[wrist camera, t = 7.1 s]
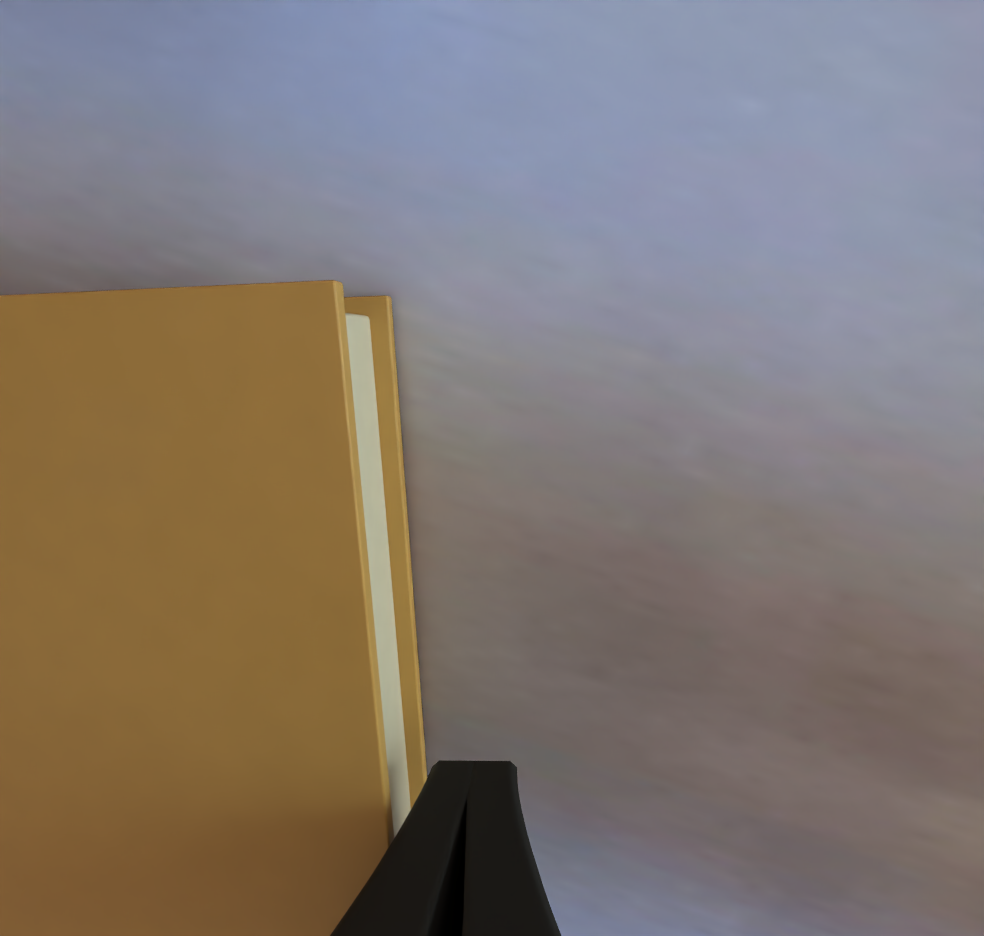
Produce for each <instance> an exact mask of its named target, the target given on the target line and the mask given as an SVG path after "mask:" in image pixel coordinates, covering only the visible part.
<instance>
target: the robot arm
mask: <svg viewBox="0 0 984 936" xmlns="http://www.w3.org/2000/svg"><path fill="white" fill-rule="evenodd" d="M330 936H561V934H560V931H559V929H558V926H557V923H556V921H555V918H554V915H553V913H552V910H551V907H550V904H549V902H548V899H547V896H546V893H545V890H544V887H543V884H542V881H541V878H540V875H539V871H538V868H537V865H536V862H535V859H534V855H533V852H532V849H531V846H530V842H529V838H528V835H527V831H526V827H525V822H524V818H523V814H522V810H521V804H520V799H519V793H518V785H517V767H516V766H515V765H514V764H512V763H511V762H510V761H438V762H437V763H436V764H435V765H434V766H433V767H432V769H431V772H430V774H429V776H428V778H427V780H426V782H425V784H424V786H423V788H422V790H421V792H420V794H419V796H418V797H417V799H416V801H415V803H414V805H413V807H412V809H411V810H410V812H409V814H408V816H407V817H406V819H405V821H404V823H403V824H402V826H401V828H400V830H399V831H398V833H397V835H396V836H395V838H394V839H393V841H392V843H391V844H390V846H389V848H388V849H387V851H386V852H385V854H384V856H383V857H382V859H381V861H380V862H379V864H378V865H377V867H376V869H375V870H374V872H373V873H372V875H371V876H370V878H369V880H368V881H367V883H366V884H365V885H364V887H363V888H362V890H361V891H360V893H359V894H358V896H357V897H356V899H355V900H354V901H353V903H352V904H351V906H350V907H349V909H348V910H347V912H346V913H345V915H344V916H343V917H342V919H341V920H340V922H339V923H338V925H337V926H336V928H335V929H334V930H333V932H332V933H331V935H330Z"/></svg>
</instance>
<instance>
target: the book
mask: <svg viewBox="0 0 984 936" xmlns="http://www.w3.org/2000/svg"><path fill="white" fill-rule="evenodd" d="M426 780H427V769H426V755H425V742H424V729H423V715H422V702H421V689H420V675H419V662H418V649H417V635H416V622H415V609H414V595H413V582H412V569H411V555H410V542H409V529H408V515H407V502H406V489H405V475H404V462H403V449H402V435H401V422H400V409H399V395H398V382H397V369H396V355H395V342H394V329H393V315H392V302H391V297H389V296H363V297H344V294H343V285H342V283H341V282H338V281H335V280H324V281H302V282H280V283H258V284H237V285H215V286H193V287H172V288H150V289H128V290H106V291H85V292H63V293H41V294H20V295H0V936H330V935H331V933H332V932H333V930H334V929H335V928H336V926H337V925H338V923H339V922H340V920H341V919H342V917H343V916H344V915H345V913H346V912H347V910H348V909H349V907H350V906H351V904H352V903H353V901H354V900H355V899H356V897H357V896H358V894H359V893H360V891H361V890H362V888H363V887H364V885H365V884H366V883H367V881H368V880H369V878H370V876H371V875H372V873H373V872H374V870H375V869H376V867H377V865H378V864H379V862H380V861H381V859H382V857H383V856H384V854H385V852H386V851H387V849H388V848H389V846H390V844H391V843H392V841H393V839H394V838H395V836H396V835H397V833H398V831H399V830H400V828H401V826H402V824H403V823H404V821H405V819H406V817H407V816H408V814H409V812H410V810H411V809H412V807H413V805H414V803H415V801H416V799H417V797H418V796H419V794H420V792H421V790H422V788H423V786H424V784H425V782H426Z"/></svg>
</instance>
